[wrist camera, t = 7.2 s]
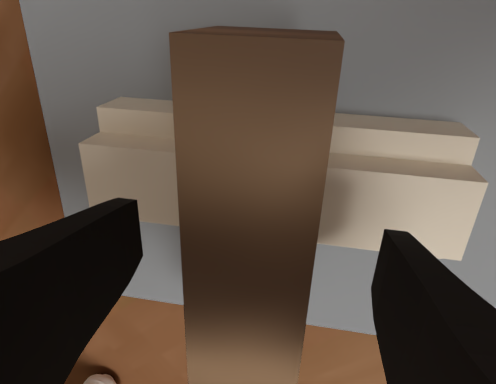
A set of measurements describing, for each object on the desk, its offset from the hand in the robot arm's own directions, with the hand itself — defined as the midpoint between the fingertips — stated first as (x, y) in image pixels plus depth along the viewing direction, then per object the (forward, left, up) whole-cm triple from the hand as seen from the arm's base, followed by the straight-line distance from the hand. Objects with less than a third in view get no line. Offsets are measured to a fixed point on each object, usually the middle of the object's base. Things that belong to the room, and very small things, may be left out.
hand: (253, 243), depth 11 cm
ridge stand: (0, 0, -7) cm, 7 cm away
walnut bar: (0, 0, -3) cm, 3 cm away
